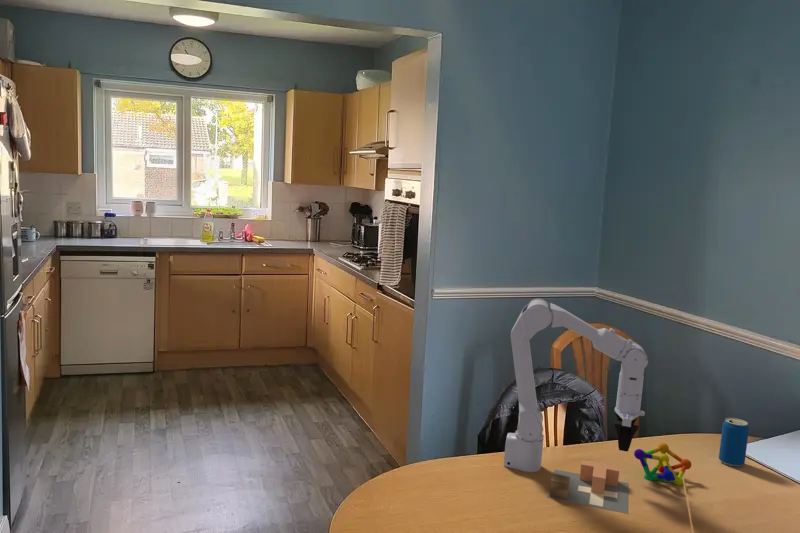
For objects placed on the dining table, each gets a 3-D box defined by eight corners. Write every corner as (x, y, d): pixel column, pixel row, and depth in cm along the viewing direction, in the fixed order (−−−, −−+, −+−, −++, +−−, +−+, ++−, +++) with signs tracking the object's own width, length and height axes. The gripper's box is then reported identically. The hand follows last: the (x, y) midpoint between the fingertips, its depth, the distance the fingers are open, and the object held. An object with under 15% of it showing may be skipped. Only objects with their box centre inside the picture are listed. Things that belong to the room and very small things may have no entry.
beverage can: (720, 456, 192) (725, 415, 190) (746, 462, 188) (751, 421, 187) (716, 463, 187) (721, 421, 185) (741, 470, 183) (747, 427, 181)
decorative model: (705, 469, 172) (672, 466, 163) (688, 498, 174) (655, 496, 165) (664, 439, 182) (632, 434, 173) (649, 467, 184) (616, 463, 175)
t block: (580, 474, 172) (582, 459, 171) (617, 481, 169) (619, 466, 168) (577, 489, 163) (579, 473, 163) (617, 497, 160) (618, 481, 160)
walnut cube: (549, 496, 159) (550, 480, 158) (551, 489, 162) (552, 473, 162) (566, 500, 157) (568, 483, 157) (568, 492, 161) (569, 476, 161)
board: (546, 501, 158) (546, 497, 158) (554, 473, 174) (554, 469, 174) (627, 517, 153) (628, 513, 152) (628, 486, 169) (628, 483, 168)
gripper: (647, 403, 160) (640, 458, 162) (646, 387, 173) (640, 438, 175) (615, 398, 162) (609, 453, 164) (617, 382, 176) (612, 433, 177)
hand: (623, 445), depth 170 cm, fingers open, 7 cm apart
